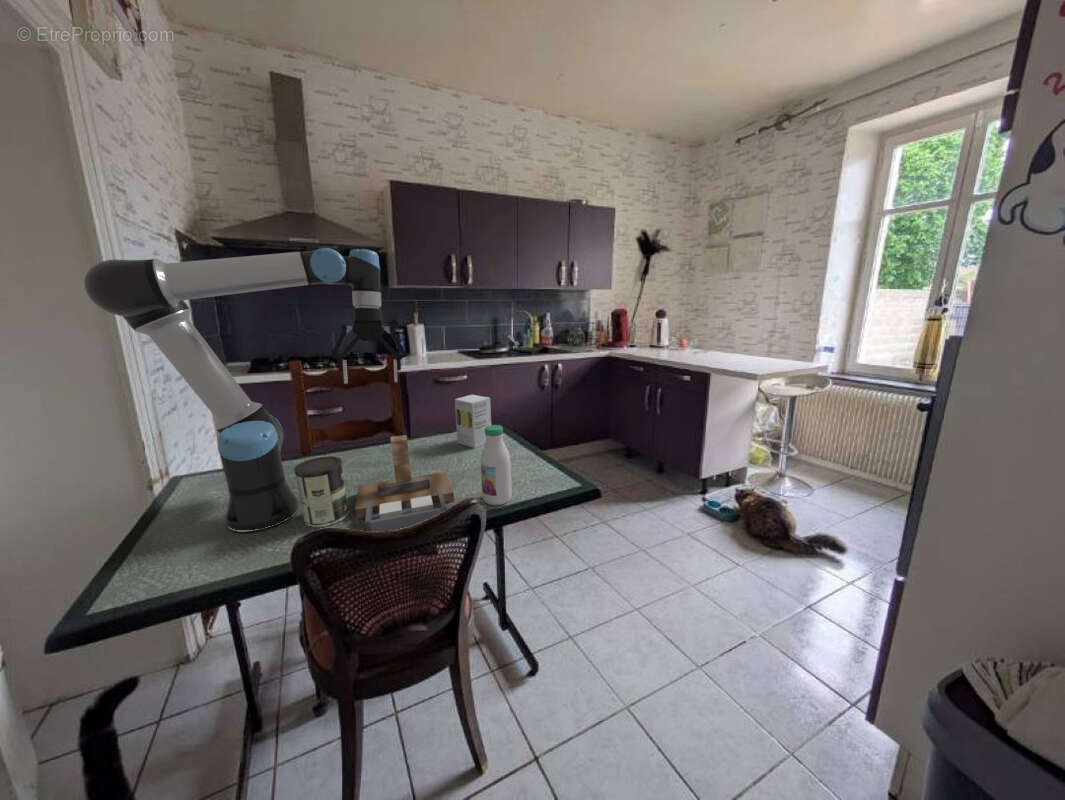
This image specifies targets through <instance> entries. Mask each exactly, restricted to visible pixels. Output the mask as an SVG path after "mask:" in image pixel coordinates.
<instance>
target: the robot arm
mask: <svg viewBox="0 0 1065 800" xmlns="http://www.w3.org/2000/svg"><path fill="white" fill-rule="evenodd" d="M379 259H380V258H379V255H378V253H377V252H376V251H374V250H370V249H365V248H354V249H351V250H350V251H349V255H348V256H346V255H345V256H343V255H342V254H341V253H339V252H338V251H337V250H335V249H332V248H329V247H321V248H318V249H316V250H306V251H292V252H281V253H272V254H271V253H270V254H260V255H250V256H249V255H248V256H247V255H246V256H236V257H225V258H215V259H214V258H213V259H212V258H211V259H202V260H201V259H200V260H191V261H181V262H180V261H179V262H178V261H176V262H168V263H167V262H164V261H162V260H159V258H150V259H106V260H104V261H100V262H98V263H96V264H94V265H93V266H92V267H90V268H89V269H88V271H87V272H86V275H85V277H84V282H83V283H84V284H83V285H84V290H85V293H86V294H87V296H88V297H89V299H90V300H91V301H92V302H93V303H94V304H95V305H96V306H98V308H101V309H102V311H103V310H104V311H105V312H108V313H110V314H112V315H117V316H120V317H122V318H123V320H125V321H126V323H127V324H128V325H129V326H130V327H131V329H132V330H133V331H134V332H136V333H140V334H143V335H147V336H148V337H149V338H150V339H151V340H152V341H153V343H154V344H155V345H156V347H157V348H158V349H159V350H160V351H161V353H162V354H163V355H164V356H165V358H166V359H167V360H168V362H169V363H170V364H171V365H172V366H173V367H174V369H176V371H177V372H178V374H179V375H180V376H181V377H182V378H183V380H184V381H185V382H186V383H187V384H188V386H189V387H190V388H191V390H193V392H194V393H195V394H196V395H197V397H198V398H199V399H200V400H201V402H202V403H203V404H204V406H205V407H206V408H207V409H208V410H209V412H211V414H212V415H213V416H214V418H215V419H216V425H215V430H217V432H218V433H219V434H218V436H217V451H218V452H219V455H220V459H221V463H222V468H223V471H224V475H225V476H224V477H225V481H226V485H227V490H228V493H229V498H228V504H227V510H226V514H225V515H226V516H225V521H226V526H227V525H228V526H229V527H230V528H232V529H235V530H255V529H262V528H265V527H268V526H272V525H275V524H277V523H280V522H282V521H284V520H285V519H287V518H289V517H291V516H292V515H293V514H294V513H295V512H296V511H297V509H298V506H299V502H298V498H297V497H296V495H295V494H294V492H293V490H292V489H291V488H290V486H289V484H288V483H287V481H286V477H285V471H284V466H283V461H282V455H281V450H282V445H283V441H284V430H283V426H282V425H281V423H280V421H279V420H278V419H277V418H276V417H274V416H273V415H272V414H270V413H269V412H268V411H267V409H266V408H265V407H264V406H263V404H262V403H260V402H254V401H252V400H251V399H250V398H249V396H248V395H247V394H246V392H245V391H244V390H243V388H242V387H241V386H240V384H239V383H238V381H236V379H235V378H234V376H233V375H232V374H231V372H230V371H229V370H228V368H227V367H226V366H225V364H224V363H223V362H222V361H221V359H220V358H219V356H218V355H217V354H216V353H215V351H214V350H213V349H212V348H211V346H210V345H209V344H208V342H207V341H206V340H205V339H204V338H203V336H202V335H201V333H200V332H199V331H198V329H197V328H196V327H195V325H194V324H193V322H191V320H190V315H191V314H190V313H191V309H190V307H189V306H188V305H187V303H186V300H195V299H197V300H198V299H203V298H204V299H205V298H212V297H219V296H227V295H236V294H238V295H239V294H245V293H252V292H259V291H260V292H261V291H262V292H263V291H269V290H278V289H285V288H292V287H293V288H294V287H301V286H309V285H320V284H322V285H324V284H325V285H345V286H351V295H352V305H353V307H354V308H353V309H352V311H353V315H352V316H353V325H346V324H342V326H341V334H340V335H339V337H338V339H337V341H336V343H335V346H334V348H333V350H332V352H331V354H330V357H331V358H332V359H334V360H337V361H338V362H337V363H338V370H339V372H342V374H343V384H345V385H346V384H348V381H349V380H348V368H347V366H348V365H347V359H344V358H345V357H346V356H347V355H348V354H349V352H350V351H352V349H353V348H354V347H355V345H357V343H358V342H360V341H359V340H361V341H363V342H369V341H371V342H376V341H379V342H380V343H381V344H382V345H383V346H384V347H385V348H386V349H387V350H388V351H389V352H390V353H391V354H392V356H393V357H394V358H395V359H393V374H394V375H393V376H394V377H393V378H394V383H398V381H399V380H398V371H401V370H402V363H401V360H402V359H405V358H407V357H408V355H407V354H408V353H407V352H406V350H405V348H404V347H403V345H402V344H401V342H400V339H399V338H398V337H397V334H396V331H395V327H394V325H389V326H387V325H386V326H384V325H383V316H382V315H383V311H382V309H381V308H382V290H381V267H380V260H379ZM351 331H353V333H354V334H355V335H356V336H355V337H354V338H353V339H352V340H351V342H349V344H348V345H347V346H346V348H345V349H343V351H342V352H341V353H340V354H338V353H339V351H340V350H341V347H342V345H343V343H344V340H345V339H346V336H347V334H350V332H351ZM385 331H386V332H387V334H390V336H391V338H392V340H393V341H394V344H395V345H396V347H397V349H398V350H399V352H400V354H399V353H398V352H397V351H396V350H394V348H393V346H391V345H390V343H388V342H387V340H385V338H384V337H383V336H382V334H384V332H385ZM298 510H299V509H298ZM297 512H298V511H297ZM291 518H292V517H291ZM228 526H227V527H228Z"/></svg>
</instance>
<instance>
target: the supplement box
mask: <svg viewBox="0 0 1065 800" xmlns="http://www.w3.org/2000/svg"><path fill="white" fill-rule="evenodd" d="M454 408H455V409H454V411H455V423H456V438H457V439H456V441H457V444H460V445H462V446H466V447H470V448H472V449H477V448H479V447H481V446H483V445H484V446H485V443H486V437H485V428H486V427H487V426H490V425H492V410H491V409H492V408H491V398H490V397H488V396H481V395H476V394H469V395H465V396H462V397H459V398H455V399H454Z"/></svg>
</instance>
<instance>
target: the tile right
mask: <svg viewBox="0 0 1065 800" xmlns="http://www.w3.org/2000/svg"><path fill="white" fill-rule="evenodd" d="M411 508H412V513H414V512H420V511H425V510H431V509H433V502H432V498H431V495H430V496H424V497H418V498H413V499H411Z"/></svg>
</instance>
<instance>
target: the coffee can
mask: <svg viewBox="0 0 1065 800" xmlns="http://www.w3.org/2000/svg"><path fill="white" fill-rule="evenodd" d="M342 460H343V459H342V458H340V457H338V456H320V457H316V458H311V459H307V460H304V461H302V462H300V463H298V464H297V465H296V466H294V468H293V472H294V474H295V479H296V483H297V484H296V485H297V489H298V494H299V495H298V496H299V500H300V505H301V511H302V516H303V520H304V521H303V522H305V523H304V525H305V524H306V525H305V526H307V525H308V526H307V527H309V526H312V527H311V528H325V527H329V526H332V525H331V524H333V525H335V524H338V523H340V522H341V521H343V520H345V518H347V517H348V516H349V514H350V509H349V503H348V497H347V490H346V484H345V477H344V470H343V465H342V463H343V461H342ZM315 526H319V527H315Z"/></svg>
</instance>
